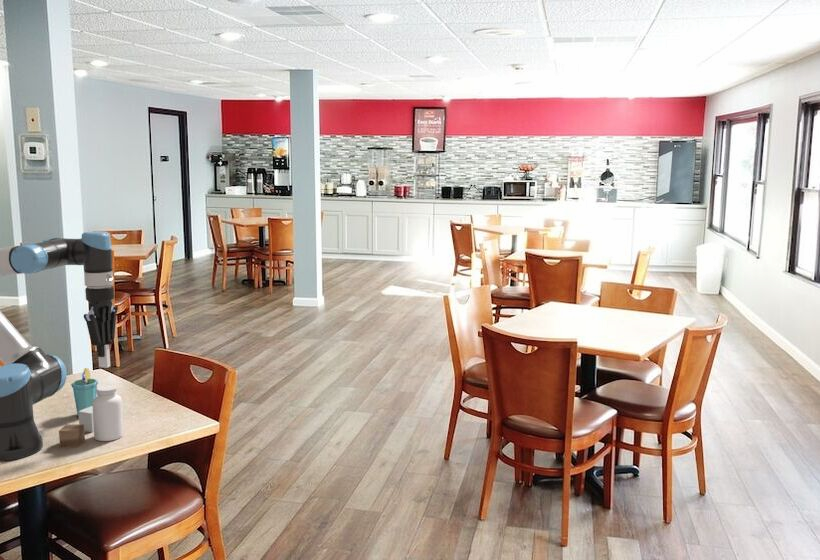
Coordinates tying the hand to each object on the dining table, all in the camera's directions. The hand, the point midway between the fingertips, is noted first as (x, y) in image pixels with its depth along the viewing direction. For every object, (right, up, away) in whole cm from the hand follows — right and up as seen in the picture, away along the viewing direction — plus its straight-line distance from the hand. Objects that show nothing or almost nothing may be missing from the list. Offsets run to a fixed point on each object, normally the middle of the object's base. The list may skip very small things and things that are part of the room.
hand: (104, 366), depth 211 cm
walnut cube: (-8, -22, -2) cm, 24 cm away
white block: (-8, -20, +10) cm, 24 cm away
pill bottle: (0, -21, +4) cm, 22 cm away
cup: (-15, -18, +22) cm, 32 cm away
